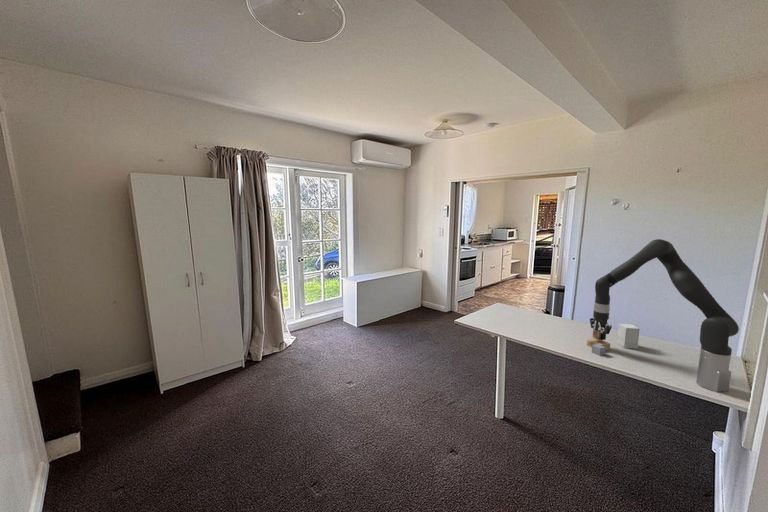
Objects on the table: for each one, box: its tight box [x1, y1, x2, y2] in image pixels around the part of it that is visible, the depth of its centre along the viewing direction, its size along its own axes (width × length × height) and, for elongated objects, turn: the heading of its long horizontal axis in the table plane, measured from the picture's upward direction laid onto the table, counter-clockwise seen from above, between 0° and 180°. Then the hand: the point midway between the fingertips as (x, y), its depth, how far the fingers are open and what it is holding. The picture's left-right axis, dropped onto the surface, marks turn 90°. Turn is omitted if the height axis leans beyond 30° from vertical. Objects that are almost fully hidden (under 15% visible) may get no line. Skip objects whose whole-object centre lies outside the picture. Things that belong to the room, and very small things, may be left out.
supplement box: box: [616, 323, 640, 350], centre depth 179 cm, size 7×7×13 cm
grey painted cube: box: [591, 344, 606, 357], centre depth 170 cm, size 4×4×4 cm
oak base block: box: [586, 338, 611, 351], centre depth 178 cm, size 8×8×4 cm
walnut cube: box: [592, 329, 607, 341], centre depth 177 cm, size 4×4×4 cm
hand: (599, 337), depth 177 cm, fingers closed on walnut cube, 4 cm apart
